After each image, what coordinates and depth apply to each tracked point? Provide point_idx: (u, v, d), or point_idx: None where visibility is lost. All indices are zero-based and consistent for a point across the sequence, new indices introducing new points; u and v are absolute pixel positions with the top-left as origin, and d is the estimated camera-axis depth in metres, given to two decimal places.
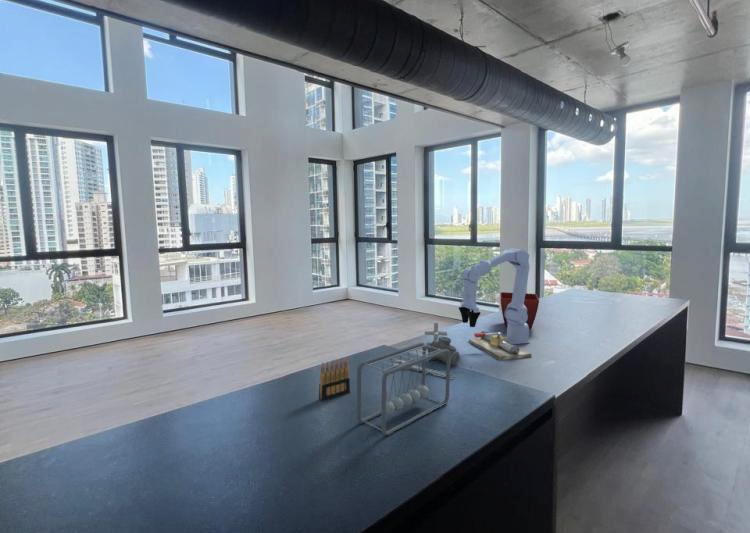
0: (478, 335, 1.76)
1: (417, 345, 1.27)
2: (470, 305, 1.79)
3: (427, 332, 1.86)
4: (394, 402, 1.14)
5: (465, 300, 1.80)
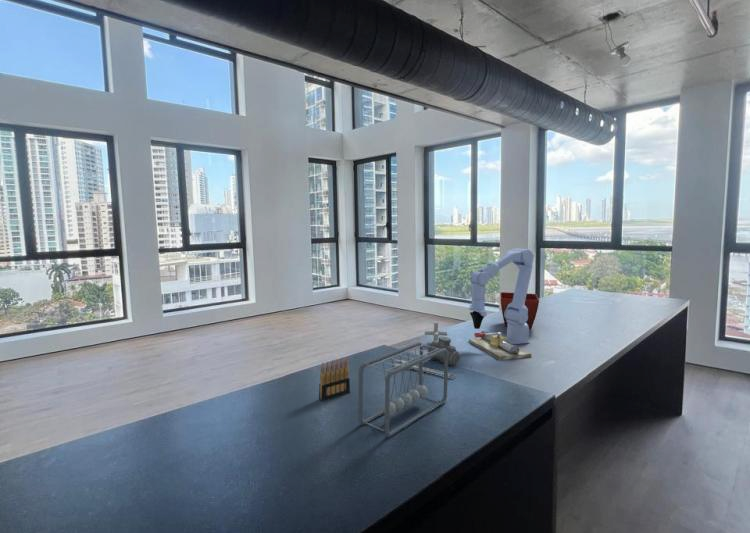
0: (478, 335, 1.76)
1: (415, 345, 1.28)
2: (478, 309, 1.78)
3: (427, 332, 1.86)
4: (395, 402, 1.14)
5: (473, 303, 1.79)
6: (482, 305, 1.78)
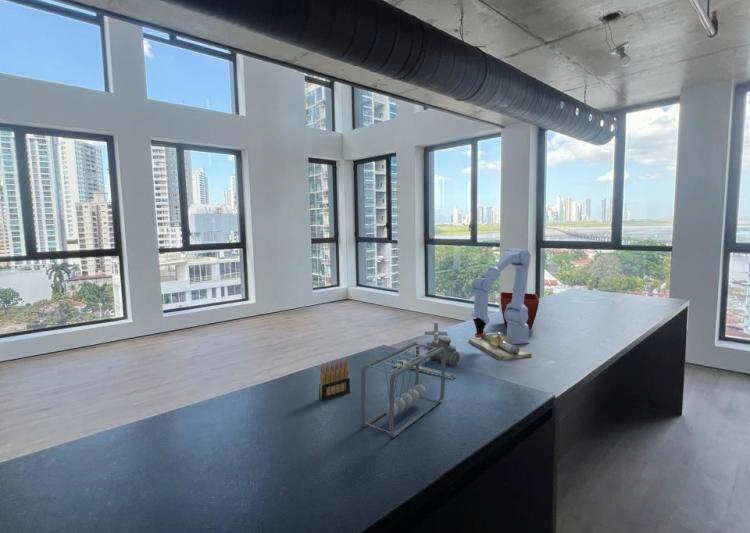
0: (479, 335, 1.75)
1: (412, 344, 1.28)
2: (481, 315, 1.75)
3: (427, 332, 1.86)
4: (396, 403, 1.14)
5: (476, 310, 1.76)
6: (485, 311, 1.75)
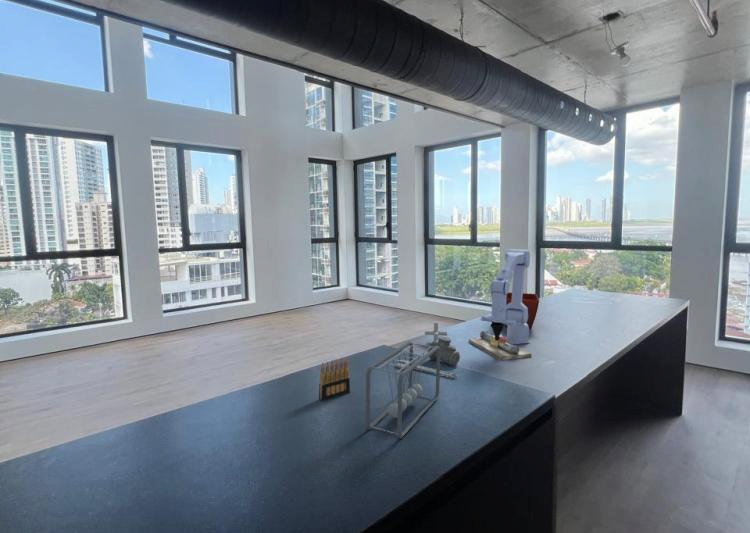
0: None
1: (407, 344, 1.28)
2: (503, 319, 1.68)
3: (427, 332, 1.86)
4: None
5: (498, 314, 1.67)
6: (505, 315, 1.69)
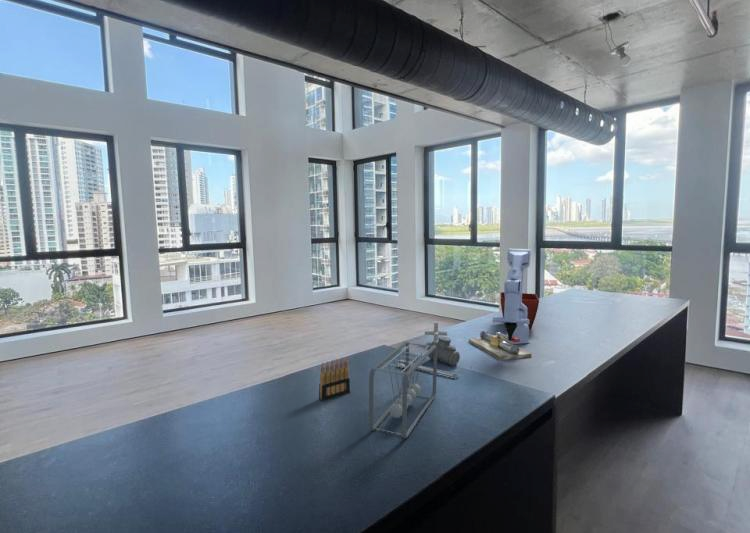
0: None
1: (404, 344, 1.28)
2: (518, 318, 1.69)
3: (427, 332, 1.86)
4: (400, 404, 1.13)
5: (515, 314, 1.67)
6: None
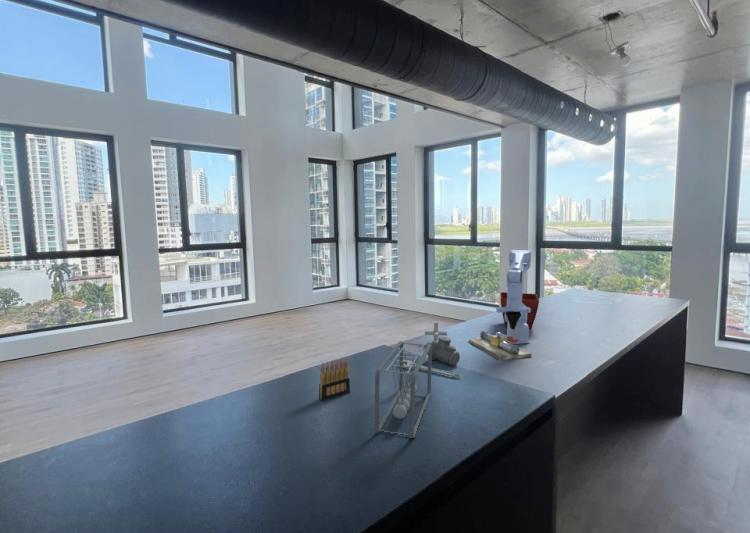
0: None
1: (400, 344, 1.28)
2: (520, 307, 1.74)
3: (427, 332, 1.86)
4: (402, 404, 1.13)
5: (519, 303, 1.72)
6: None
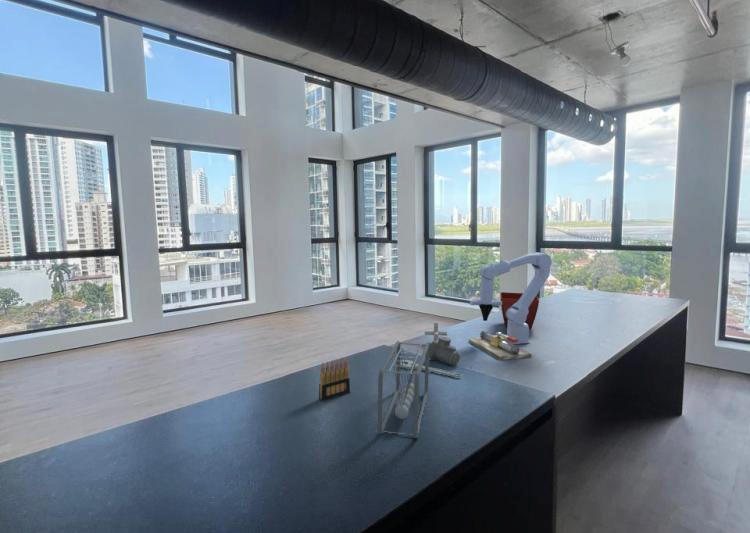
0: None
1: (398, 344, 1.28)
2: (492, 300, 1.88)
3: (427, 332, 1.86)
4: (404, 404, 1.13)
5: (490, 297, 1.86)
6: None
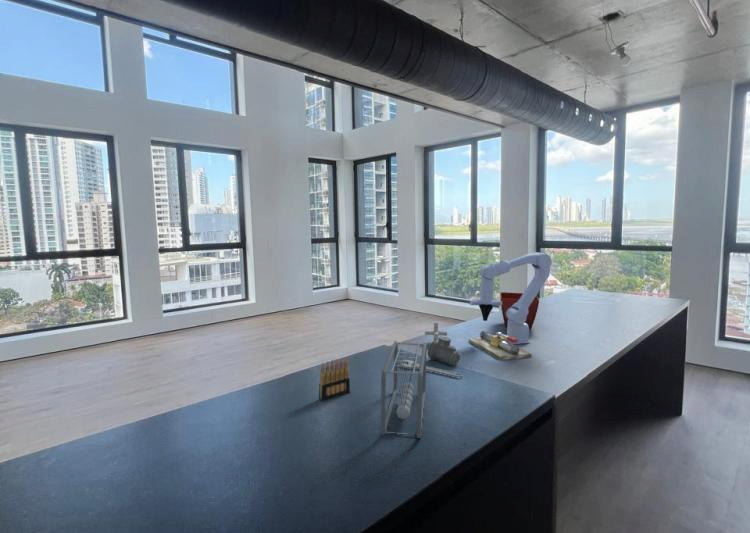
0: None
1: (396, 344, 1.28)
2: (492, 300, 1.88)
3: (427, 332, 1.86)
4: (405, 404, 1.13)
5: (490, 297, 1.86)
6: None
